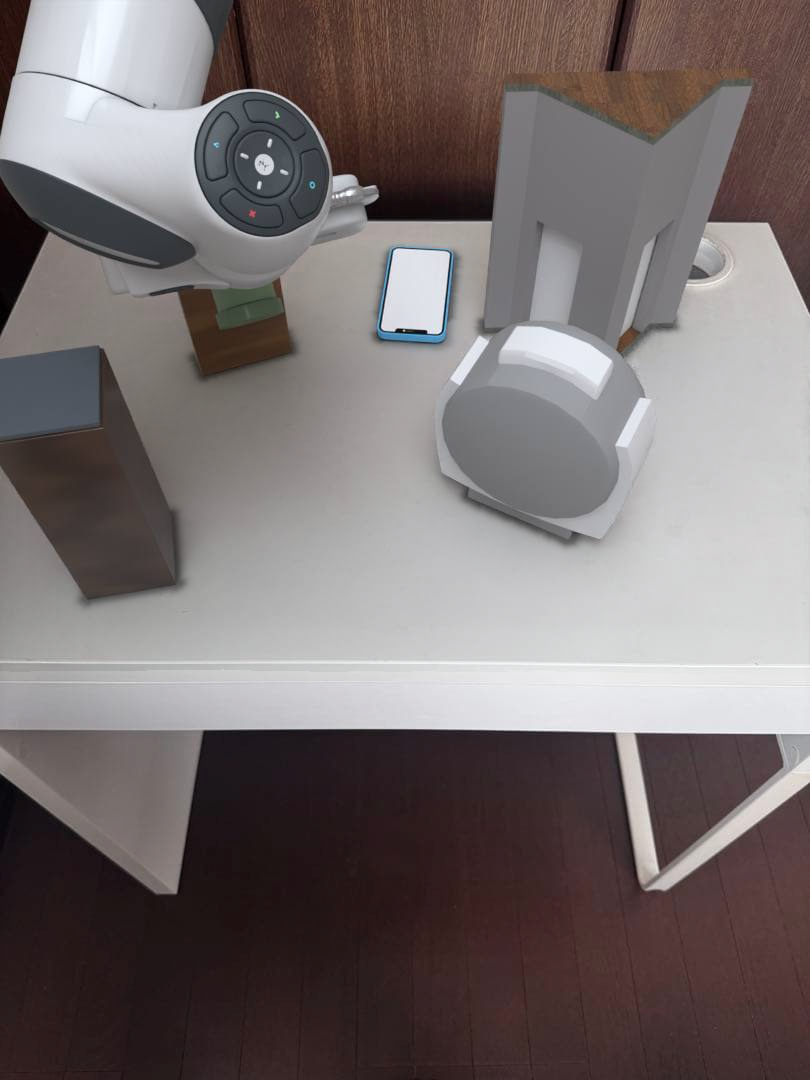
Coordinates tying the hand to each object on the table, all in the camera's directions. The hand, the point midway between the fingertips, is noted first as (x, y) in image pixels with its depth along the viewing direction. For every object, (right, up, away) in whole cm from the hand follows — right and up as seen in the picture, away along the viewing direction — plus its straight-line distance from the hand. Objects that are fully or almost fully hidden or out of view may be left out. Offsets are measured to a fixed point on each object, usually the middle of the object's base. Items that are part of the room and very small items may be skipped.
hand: (229, 249), depth 72 cm
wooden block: (-3, -4, +23) cm, 23 cm away
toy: (0, -3, +5) cm, 6 cm away
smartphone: (+16, +4, +27) cm, 32 cm away
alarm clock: (+27, -20, +12) cm, 36 cm away
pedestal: (-11, -26, +9) cm, 29 cm away
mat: (-11, -14, -10) cm, 20 cm away
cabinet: (+34, -4, +23) cm, 41 cm away
